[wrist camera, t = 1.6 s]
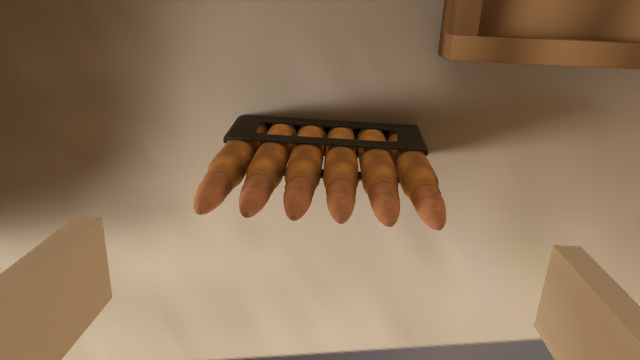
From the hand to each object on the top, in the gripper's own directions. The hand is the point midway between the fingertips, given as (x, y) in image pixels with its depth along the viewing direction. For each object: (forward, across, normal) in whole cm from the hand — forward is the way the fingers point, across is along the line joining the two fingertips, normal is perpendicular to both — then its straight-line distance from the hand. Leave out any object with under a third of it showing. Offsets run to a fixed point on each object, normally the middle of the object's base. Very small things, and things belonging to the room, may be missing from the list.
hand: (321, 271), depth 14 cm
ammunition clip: (+16, 0, 0) cm, 16 cm away
